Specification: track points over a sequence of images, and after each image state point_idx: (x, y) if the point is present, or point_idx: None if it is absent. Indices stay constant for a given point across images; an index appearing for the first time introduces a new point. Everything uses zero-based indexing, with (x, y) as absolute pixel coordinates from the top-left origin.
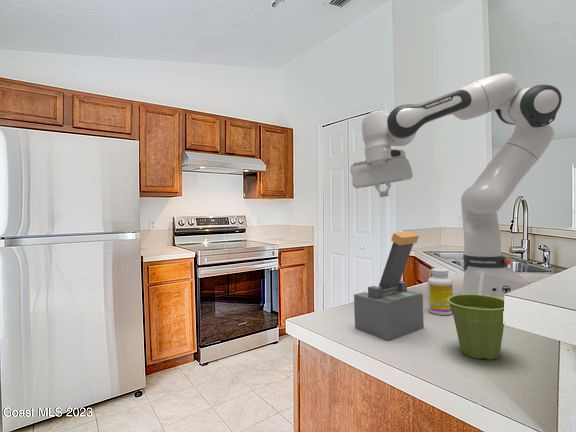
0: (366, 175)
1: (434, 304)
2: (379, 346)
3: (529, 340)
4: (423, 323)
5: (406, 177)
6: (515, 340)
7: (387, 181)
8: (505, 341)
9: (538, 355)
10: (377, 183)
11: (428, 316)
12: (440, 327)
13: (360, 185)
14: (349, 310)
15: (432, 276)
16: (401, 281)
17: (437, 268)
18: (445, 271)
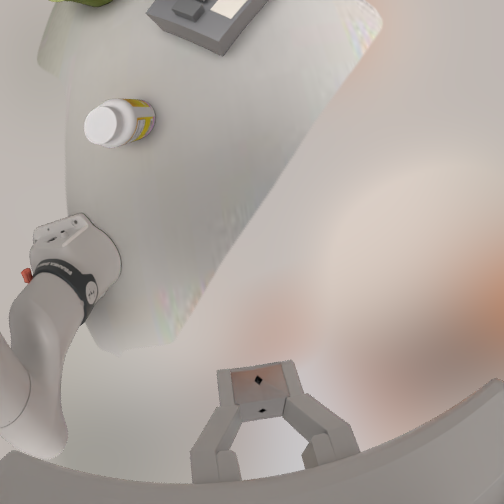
0: (461, 499)
1: (139, 100)
2: None
3: (49, 59)
4: (161, 28)
5: (29, 462)
6: (61, 49)
7: (212, 485)
8: (71, 39)
9: (55, 22)
10: (335, 462)
11: (155, 87)
12: (138, 43)
13: (476, 399)
14: (305, 76)
15: (120, 114)
16: (182, 10)
17: (104, 140)
18: (88, 114)
